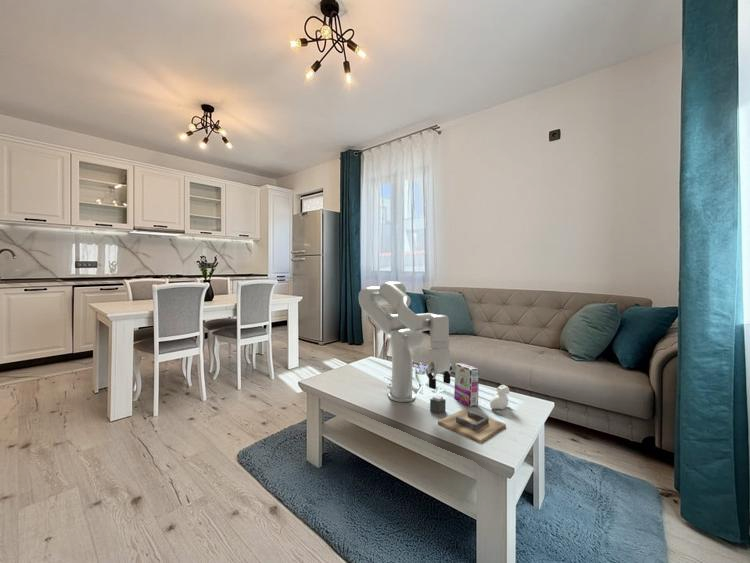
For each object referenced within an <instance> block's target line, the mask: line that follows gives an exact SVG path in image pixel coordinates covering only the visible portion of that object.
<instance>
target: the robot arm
mask: <svg viewBox="0 0 750 563" xmlns="http://www.w3.org/2000/svg"><path fill="white" fill-rule="evenodd" d="M411 300H412V299H411V297H410V296H409V295H408V294H407V288H406V286H405V285H404V284H403V283H402V282H400V281H386V282H383V283H381V285H380V286H367V287H364V288H362V289H361V290H360V291H359V293H358V303H359V306H360V308H361V310H362V311H363V312H364V314H366V315H367V316H368V317H369V318H370V319H371V320H372V322H374V324H376V326H377V327H378V328H379V329H380V330H381V331H382V332H383V333H384V334H385V335H389V336H390V347H391V358H392V359H391V363H392V364H391V365H392V366H391V368H392V369H391V370H392V371H391V382H389V383H388V385H387V387H386V388H387V389H389V392H388V398H389V399H390V400H392V401H394V402H397V403H399V402H400V403H407V402H408V403H409V402H412V401H414V400H415V399H416V394H415V393H414V392H413V375H414V373H413V370H414V369H413V366H414V365H413V364H414V362H413V356H412V353H411V349H415V348H418V347H420V346H422V345H423V344H424V342H425V336H424V333H423V332H425V331H430V348H429V350H428V355H427V367H426V368H425V369H424V371H425V373H426V376H427V379H428V387H429V389H433V390H436V389H437V379H436V377H437V375H438V374H441V373H442V374H443V375H442V376H443V379H442V380H443V383H445V384H448V385H450V384H451V374H452V370H453V365H454V362H453V361H452V360H451V354H450V345H449V344H450V336H449V335H450V331H449V330H450V329H449V328H450V319H449V317H448V316H447V315H445V314H435V313H431V312H426V313H425V312H424V313H415V312H414V311H413V310H411V309H410V308H409V307H410V305H411V302H412V301H411ZM380 303H382V304H383V303H388V304H389V305H390V306H391V307H392V308H394V309H395V310H396V313H397V314H396V313H395V314H392V313H390V312H389V311H388V310H387V308H385V307H384V306H382V305H381V304H380Z"/></svg>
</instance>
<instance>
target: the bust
mask: <svg viewBox="0 0 750 563" xmlns="http://www.w3.org/2000/svg"><path fill="white" fill-rule="evenodd" d="M495 389H496V391H497V392H496V393H495V394H494V395H493V397H492V398H491V399H490V403H489V405H490V409H493V410H494V409H496V410H504V409H506V408H507V407H508V405H509V397H508V394H510V388H509V386H508V385H506V384H500V385H499V386H498V387H496V388H495Z"/></svg>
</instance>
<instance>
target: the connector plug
mask: <svg viewBox="0 0 750 563" xmlns="http://www.w3.org/2000/svg"><path fill="white" fill-rule="evenodd" d="M446 405H447V404H446V399H444V397H443V396H440V395H439V394H437V395H435V396H432V398H430V407H429V408H430V409H429V411H430V412H432V413H434V414H437V415H440V414H443V413H445V412H446Z"/></svg>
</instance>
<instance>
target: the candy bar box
mask: <svg viewBox="0 0 750 563" xmlns="http://www.w3.org/2000/svg"><path fill="white" fill-rule="evenodd" d="M454 366H455V367H454V392H453V393H454V394H453V395H454V396H453V398H454V399H455V400H457V401H459V402H460V401H461V402H460V403H462V404H464V405H466V406H468V407H470V408H471V407H476V406H477V407H478V406H479V382H480V380H479V378H480V368H477V367H476V366H472V365H470V364H467V363H465V362H457V363H454Z"/></svg>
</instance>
